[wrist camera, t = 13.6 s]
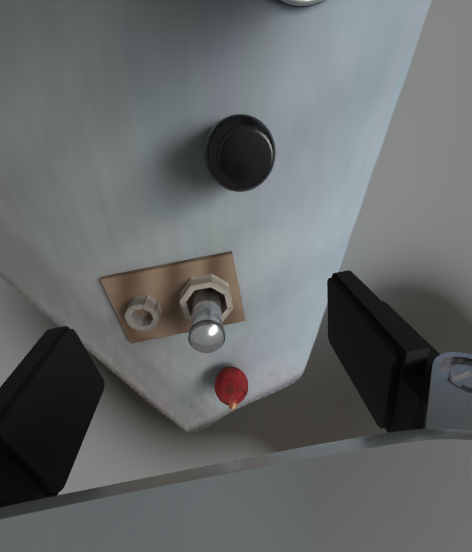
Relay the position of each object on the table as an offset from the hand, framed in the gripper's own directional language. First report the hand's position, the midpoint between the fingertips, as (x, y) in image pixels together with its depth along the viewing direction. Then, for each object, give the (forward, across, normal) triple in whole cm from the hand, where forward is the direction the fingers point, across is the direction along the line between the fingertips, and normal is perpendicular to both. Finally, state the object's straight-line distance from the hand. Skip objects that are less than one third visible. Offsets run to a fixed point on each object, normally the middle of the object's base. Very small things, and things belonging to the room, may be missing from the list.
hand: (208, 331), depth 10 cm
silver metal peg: (+27, +4, +15) cm, 31 cm away
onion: (+28, +3, +32) cm, 43 cm away
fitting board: (+28, +8, +15) cm, 33 cm away
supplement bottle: (+28, -4, -4) cm, 29 cm away
